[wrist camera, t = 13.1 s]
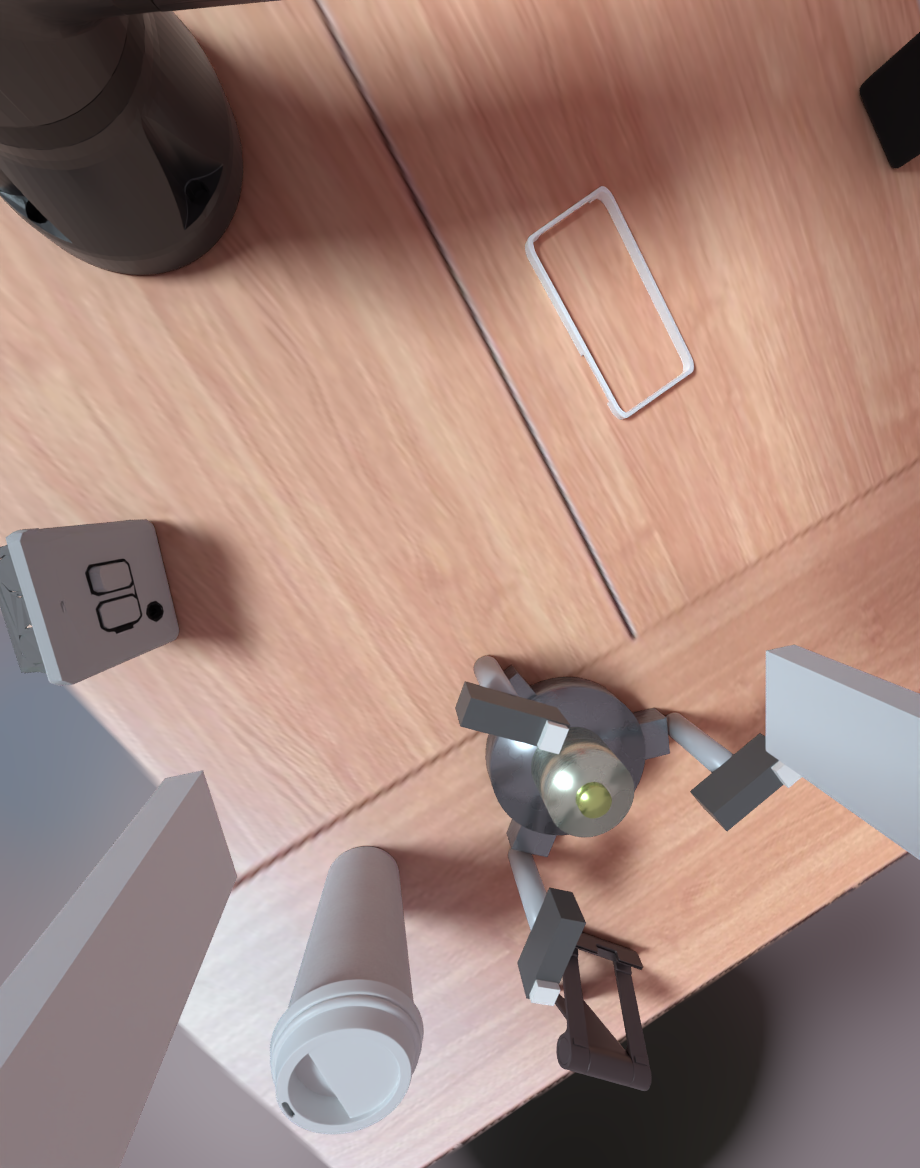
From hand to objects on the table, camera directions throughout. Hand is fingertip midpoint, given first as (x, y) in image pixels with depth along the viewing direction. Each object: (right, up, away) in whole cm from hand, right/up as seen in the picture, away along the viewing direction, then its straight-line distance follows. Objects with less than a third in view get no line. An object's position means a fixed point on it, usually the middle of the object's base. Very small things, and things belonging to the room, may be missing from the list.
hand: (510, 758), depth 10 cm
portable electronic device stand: (+11, -35, +37) cm, 52 cm away
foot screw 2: (+4, -21, +33) cm, 39 cm away
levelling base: (+9, -11, +31) cm, 35 cm away
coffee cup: (-10, -23, +31) cm, 40 cm away
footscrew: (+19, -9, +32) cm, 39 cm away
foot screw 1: (+1, -3, +29) cm, 29 cm away
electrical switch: (-26, +4, +24) cm, 36 cm away
